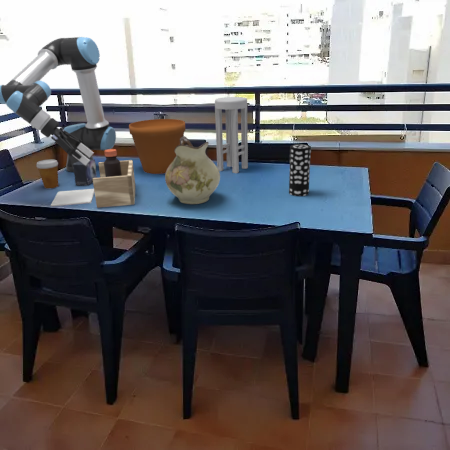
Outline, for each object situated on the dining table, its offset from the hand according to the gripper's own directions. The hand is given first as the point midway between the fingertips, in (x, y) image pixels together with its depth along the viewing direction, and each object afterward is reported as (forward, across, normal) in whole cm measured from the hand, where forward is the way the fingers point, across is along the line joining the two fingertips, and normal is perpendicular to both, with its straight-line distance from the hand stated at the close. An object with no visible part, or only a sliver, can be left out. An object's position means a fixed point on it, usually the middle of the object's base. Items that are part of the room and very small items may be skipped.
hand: (89, 158), depth 182 cm
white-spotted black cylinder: (+73, +16, +49) cm, 89 cm away
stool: (+58, -29, +34) cm, 74 cm away
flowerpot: (+33, -40, +9) cm, 53 cm away
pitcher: (+41, +12, +17) cm, 46 cm away
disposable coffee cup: (-4, -23, -28) cm, 36 cm away
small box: (+8, -25, -17) cm, 31 cm away
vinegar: (+18, -1, -6) cm, 19 cm away
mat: (+6, -3, -19) cm, 20 cm away
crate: (+19, -1, -6) cm, 19 cm away
